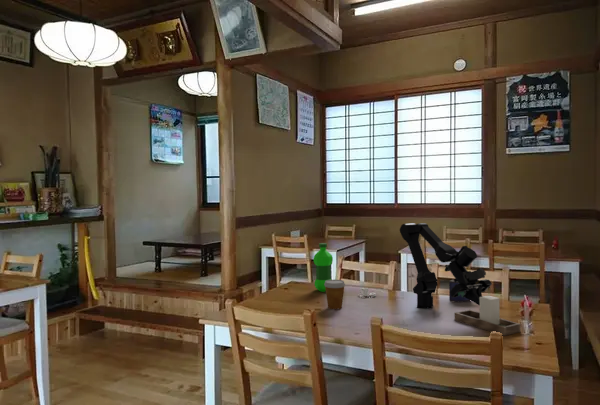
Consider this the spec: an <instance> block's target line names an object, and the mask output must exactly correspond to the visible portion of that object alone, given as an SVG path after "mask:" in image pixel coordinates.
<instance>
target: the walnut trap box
mask: <svg viewBox="0 0 600 405" xmlns="http://www.w3.org/2000/svg"><path fill="white" fill-rule="evenodd" d="M453 320H454V321H456V322H459V323H463V324H465V325H469V326H472V327H475V328H478V329H481V330H484V331H488V332H490V331H496V332H500V333H502V334H503V335H502V336H503V337H506V336H509V335H510V336H511V335H514V334H518V333H521V332H522V331H521V329H522V328H521V327H522V326H521V323H519V322H514V321H513V320H512V321H511V320H508V319H506V318H502V317H501V318H500V324H498V325H497V324H493V323H490V322H487V321H483V320H480V311H476V310H473V309H467V310H465V309H464V310H462V311H456V312H454V319H453Z"/></svg>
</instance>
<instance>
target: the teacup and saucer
mask: <svg viewBox="0 0 600 405" xmlns="http://www.w3.org/2000/svg"><path fill="white" fill-rule="evenodd" d="M359 292H360V293H359V294H363V295H362V296H361V297H362V298H363V299H366V298H365V297H364V296H367V297H369V298H370V296H371V298H373V297H376V295H377V293H376V292H370V293H369V288H367V287H363V288H362V289H360V291H359ZM368 294H369V295H368ZM369 298H368V299H369Z"/></svg>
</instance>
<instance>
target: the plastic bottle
mask: <svg viewBox="0 0 600 405" xmlns="http://www.w3.org/2000/svg"><path fill="white" fill-rule="evenodd" d="M318 248H319V250H318V251H317V252H316V253H315V254H314V256H313V264H314V265H315V281H314V287H315V289H317V290H318V292H322V293H326V292H325V291H326V289H325V285H324V284H325V281H326V280H332V278H331V276H332V275H331V273H332V272H331V269H332V268H331V266H332V265H333V261H334V260H333V255H332V254H331V253H330V252H329V251H328V250H327V248H328V243H326V242H321V243H320V242H319V243H318Z"/></svg>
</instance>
